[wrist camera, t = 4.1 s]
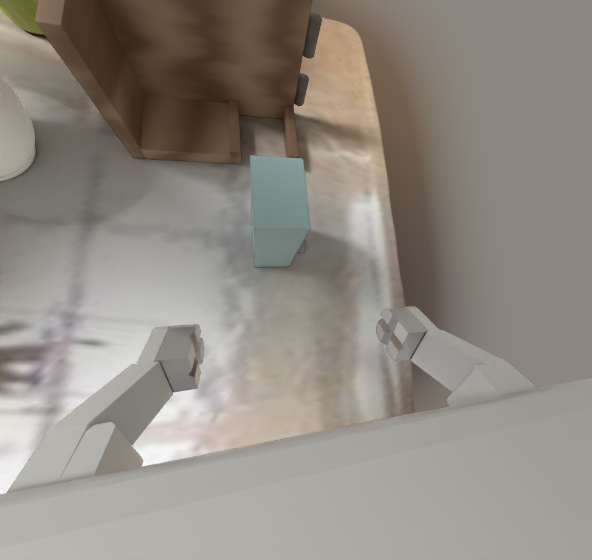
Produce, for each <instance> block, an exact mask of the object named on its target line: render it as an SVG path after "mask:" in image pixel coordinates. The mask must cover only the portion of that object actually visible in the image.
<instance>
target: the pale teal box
mask: <svg viewBox="0 0 592 560" xmlns="http://www.w3.org/2000/svg"><path fill="white" fill-rule="evenodd" d="M250 176H251V211H252V235H253V254H254V267H275V266H289V265H290V263H291V261H292V259H293V258H294V256H295V254H296V253H305V250H306V242H305V240H304V238H305V237H306V235H307V233H308V231H309V230H310V228H311V227H310V218H309V209H308V200H307V191H306V181H305V172H304V163H303V159H302V158H286V157H271V156H255V155H250Z"/></svg>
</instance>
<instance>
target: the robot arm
mask: <svg viewBox="0 0 592 560" xmlns="http://www.w3.org/2000/svg"><path fill="white" fill-rule="evenodd" d="M381 317H382V319H381V320H380V321H379V322H378V323H377V326H376V333H377V336H378V338H379V340H380V341H381V342H382V343H384V344H385V345H386V350H387V352H388V353H389V355H390V356H391V358H392V359H393V361H402V360H411V361H412V362H413V363H415V364H416V365H417V366H418V367H420V368H421V369H422V370H424V371H425V372H426V373H428V374H429V375H430V376H432V377H433V378H434V379H436V380H437V381H438V382H440V383H441V384H442V385H444V386H445V387H446V388H447V389H449V390H450V391H451V392H452V394H451V395H450V396H449V397H448V398H447V403H448V404H449V405H450V406H447V407H443V408H437V409H432V410H427V411H422V412H417V413H412V414H407V415H402V416H397V417H391V418H386V419H381V420H376V421H371V422H366V423H361V424H356V425H351V426H346V427H341V428H335V429H330V430H325V431H320V432H315V433H310V434H305V435H300V436H295V437H290V438H285V439H280V440H274V441H269V442H264V443H259V444H254V445H249V446H244V447H239V448H234V449H229V450H224V451H219V452H214V453H208V454H203V455H198V456H193V457H188V458H183V459H178V460H173V461H168V462H163V463H158V464H153V465H148V466H143V467H141V466H142V463H143V459H142V457H141V456H140V455H139V453H138V452H137V451H136V450H135V449H134V448H133V446H132V445H133V444H134V442H135V441H136V440H137V439H138V437H139V436H140V435H141V434H142V432H143V431H144V430H145V429H146V427H147V426H148V425H149V424H150V422H151V421H152V420H153V419H154V417H155V416H156V415H157V414H158V412H159V411H160V410H161V409H162V407H163V406H164V405H165V403H166V402H167V401H168V400H169V398H170V397H171V396H172V395H173V392H179V391H185V390H191V389H197V388H198V384H199V379H200V374H201V371H200V367H199V366H200V365H201V364H202V362H203V358H204V342H203V339H202V338H201V337H200V332H201V330H200V326H199V325H198V324H194V325H177V326H165V327H156V328H154V329H153V330H152V332H151V335H150V337H149V339H148V341H147V343H146V345H145V347H144V349H143V351H142V353H141V355H140V357H139V359H138V361H137V364H132V365H130V366H129V367H128V368H126V369H125V370H124V371H123V372H121V373H120V374H119V375H118V376H116V377H115V378H114V379H113V380H111V381H110V382H109V383H108V384H106V385H105V386H104V387H102V388H101V389H100V390H99V391H97V392H96V393H95V394H94V395H92V396H91V397H90V398H89V399H87V400H86V401H85V402H84V403H82V404H81V405H80V406H79V407H77V408H76V409H75V410H73V411H72V412H71V413H70V414H68V415H67V416H66V417H65V418H63V419H62V420H61V421H60V422H58V423H57V424H56V425H55V426H53V427H52V428H51V429H49V430H48V432H47V433H46V435H45V436H44V438H43V439H42V441H41V442H40V444H39V445H38V447H37V448H36V450H35V451H34V453H33V454H32V456H31V457H30V459H29V460H28V462H27V463H26V465H25V466H24V468H23V469H22V471H21V472H20V474H19V475H18V477H17V478H16V480H15V481H14V482H13V484H12V485H11V487H10V488H9V490H8V491H7V493H6V494H0V560H592V378H590V379H585V380H580V381H575V382H569V383H564V384H559V385H554V386H549V387H544V388H539V389H537V388H536V387H535V386H534V385H532V384H531V383H530V382H529V381H528V380H527V379H525V378H524V377H523V376H522V375H521V374H520V373H519V372H517V371H516V370H515V369H514V368H513V367H512V366H511V365H509V364H508V363H507V362H506V361H505V360H503V359H501V358H499V357H497V356H495V355H492V354H491V353H489V352H487V351H485V350H483V349H480V348H478V347H476V346H474V345H472V344H470V343H468V342H466V341H464V340H462V339H460V338H458V337H456V336H454V335H452V334H450V333H448V332H446V331H444V330H439V329H438V328H437V327H436V326H435V325H434V324H433V323H432V322H431V321H430V320H429V319H428V318H427V317H426V316H425V315H424V314H423V313H422V312H421V311H420V310H419V309H418V308H417V307H414V306H409V307H399V308H388V309H384V310H383V311H382V313H381Z"/></svg>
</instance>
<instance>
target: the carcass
mask: <svg viewBox="0 0 592 560" xmlns="http://www.w3.org/2000/svg"><path fill="white" fill-rule="evenodd" d="M311 6H312V0H38V5H37V11H36V16H35V23H36V24H37V25H38V27H39V28H40V30H41V31H42V32H43V34H44V35H45V36H46V38H47V39H48V41H49V42H50V43H51V45H52V46H53V48H54V49H55V50H56V52H57V53H58V54H59V56H60V57H61V59H62V60H63V61H64V63H65V64H66V66H67V67H68V68H69V70H70V71H71V72H72V74H73V75H74V77H75V78H76V79H77V81H78V82H79V83H80V85H81V86H82V88H83V89H84V90H85V92H86V93H87V95H88V96H89V97H90V99H91V100H92V101H93V103H94V104H95V106H96V107H97V108H98V110H99V111H100V112H101V114H102V115H103V117H104V118H105V119H106V121H107V122H108V124H109V125H110V126H111V128H112V129H113V130H114V132H115V133H116V135H117V136H118V137H119V139H120V140H121V142H122V143H123V144H124V146H125V147H126V148H127V150H128V151H129V153H130V154H131V155H132V157H133V158H142V159H160V160H177V161H195V162H213V163H230V164H241V146H240V124H239V115H246V116H256V117H266V118H276V119H283V125H284V136H285V147H286V158H298V157H299V156H298V146H297V136H296V127H295V117H294V108H293V107H294V104H296V105H297V106H302V105H303V103H304V99H305V94H306V90H307V85H308V81H309V78H308V76H307V75H305V74H299V73H300V67H301V62H302V56H304V57H306V58H313V57H314V54H315V49H316V44H317V40H318V35H319V31H320V26H321V22H322V19H321V17H320V16H319V15H318V14H316V13H310V11H311Z"/></svg>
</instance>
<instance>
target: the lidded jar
mask: <svg viewBox="0 0 592 560" xmlns="http://www.w3.org/2000/svg"><path fill="white" fill-rule="evenodd" d="M35 156H36V147H35V132H34V128H33V124H32V121H31V118H30V116H29V114H28V112H27V110H26V108H25V106H24V104H23V103H22V101H21V100H20V99H19V97H18V96H17V94H16V93H15V92H14V90H13V89H12V88H11V86H10V85H9V84H8V82H7V81H6V80H5V79H4V78H3V76H2V75H1V74H0V182H1V181H6V180H9V179H12V178H15V177H17V176H19V175H20V174H22V173H23V172H25V171H26V170H27V169H28V168H29V167H30V166H31V164H32V163H33V161H34V159H35Z"/></svg>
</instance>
